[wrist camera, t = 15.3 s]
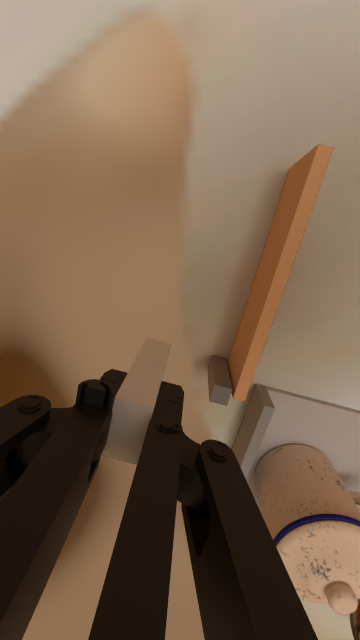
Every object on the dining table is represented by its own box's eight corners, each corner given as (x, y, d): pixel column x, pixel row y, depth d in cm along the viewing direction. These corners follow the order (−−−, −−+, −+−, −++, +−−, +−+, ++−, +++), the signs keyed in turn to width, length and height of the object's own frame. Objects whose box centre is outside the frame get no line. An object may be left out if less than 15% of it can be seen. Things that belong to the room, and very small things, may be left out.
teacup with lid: (251, 505, 32) (277, 644, 21) (251, 440, 30) (282, 558, 19) (358, 507, 31) (445, 654, 20) (368, 440, 29) (473, 565, 18)
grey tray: (431, 413, 28) (490, 457, 22) (353, 541, 33) (385, 604, 28) (212, 355, 28) (214, 384, 23) (169, 492, 34) (162, 544, 28)
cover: (289, 168, 23) (318, 143, 17) (301, 171, 23) (334, 147, 17) (226, 367, 28) (232, 398, 23) (235, 369, 28) (244, 401, 23)
